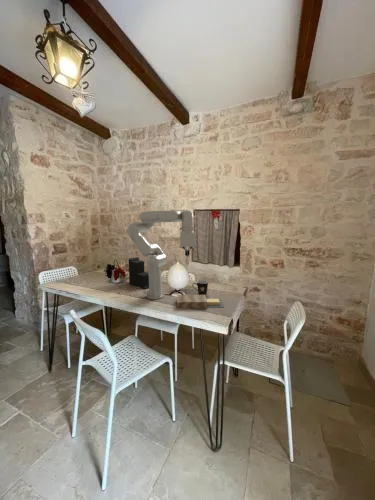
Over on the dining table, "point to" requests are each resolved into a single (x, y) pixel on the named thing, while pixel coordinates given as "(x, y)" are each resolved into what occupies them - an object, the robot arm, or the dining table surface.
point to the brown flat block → (191, 301)
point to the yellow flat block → (213, 302)
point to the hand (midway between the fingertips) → (187, 256)
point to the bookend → (138, 273)
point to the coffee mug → (202, 287)
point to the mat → (216, 305)
